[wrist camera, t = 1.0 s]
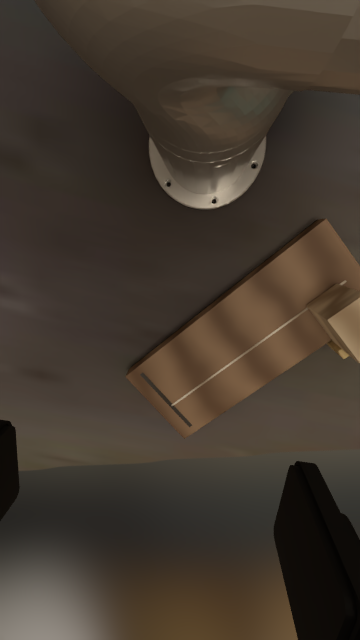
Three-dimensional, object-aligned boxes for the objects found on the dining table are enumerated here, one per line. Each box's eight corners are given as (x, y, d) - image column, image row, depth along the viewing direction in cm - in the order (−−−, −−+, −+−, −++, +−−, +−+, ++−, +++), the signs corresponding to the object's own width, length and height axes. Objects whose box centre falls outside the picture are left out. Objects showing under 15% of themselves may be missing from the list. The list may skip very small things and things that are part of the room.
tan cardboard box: (332, 277, 34) (370, 290, 27) (364, 321, 36) (410, 345, 28) (296, 304, 36) (322, 323, 28) (328, 345, 37) (362, 375, 29)
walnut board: (317, 219, 33) (326, 218, 31) (373, 298, 35) (386, 303, 33) (129, 368, 40) (125, 376, 38) (185, 427, 42) (184, 439, 40)
